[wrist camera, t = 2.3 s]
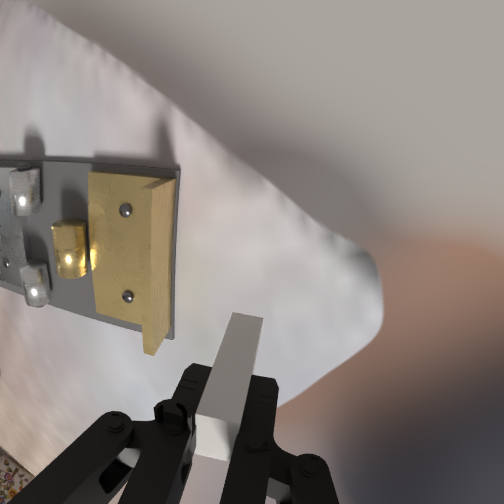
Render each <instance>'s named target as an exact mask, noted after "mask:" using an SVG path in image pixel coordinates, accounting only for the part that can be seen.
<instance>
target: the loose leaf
mask: <svg viewBox="0 0 504 504" xmlns="http://www.w3.org/2000/svg"><path fill="white" fill-rule="evenodd" d="M176 179H177V178H170V177H161V176H152V175H142V174H131V173H120V172H108V171H95V170H94V171H90V172H88V215H89V238H90V254H91V267H92V278H93V287H94V296H95V304H96V312H97V313H99V314H103V315H106V316H110V317H113V318H117V319H121V320H124V321H128V322H132V323H136V324H140V325H142V335H143V348H144V353H145V354H149V355H153V356H154V355H155V353H156V351H157V350H158V348H159V346H160V345H161V343H162V341H163V340H164V338H165V336H166V334H167V333H168V331H169V329H170V328H171V296H172V252H173V228H174V209H175V193H176ZM52 236H53V246H54V255H55V264H56V271H57V275H58V276H59V277H61V278H64V279H75V278H79V277H82V276H84V275H85V274H87V273H88V258H87V245H86V227H85V221H84V220H81V219H75V218H70V219H63V220H59V221H56V222H54V223H53V224H52Z"/></svg>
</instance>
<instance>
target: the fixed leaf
mask: <svg viewBox="0 0 504 504" xmlns="http://www.w3.org/2000/svg"><path fill="white" fill-rule="evenodd" d="M40 210H41V201H40V168H38V167H32V163H21V164H17V166H0V280H1V281H4V282H6V283H9V284H12V285H14V286H17V287H20V288H23V292H24V297H25V301H26V304H27V305H29V306H32V307H43V306H44V305H46V304H47V303H49V302H50V301H51V299H52V295H51V290H50V284H49V278H48V271H47V264H46V261H45V260H42V259H32V258H31V251H30V243H29V235H28V225H27V215H32V214H35V213H37V212H39V211H40Z"/></svg>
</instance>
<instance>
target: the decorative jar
mask: <svg viewBox="0 0 504 504" xmlns="http://www.w3.org/2000/svg"><path fill="white" fill-rule="evenodd" d="M34 478H35V477H34V476H33V475H32V474H30V473H29V472H27V471H26V470H25V469H23V468H22V467H20V466H19V465H18V464H16V463H15V462H14V461H12V460H11V459H10V458H8V457H7V456H6V455H4V454H3V456H2V457H1V458H0V504H6V503H7V502H8V501H10V500H11V499H12V498H13V497H14V496H15V495H16V494H17V493H18V492H20V491H21V490H22V489H23V488H24V487H25V486H26V485H27V484H28V483H29V482H30V481H32V480H33V479H34Z"/></svg>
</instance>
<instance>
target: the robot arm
mask: <svg viewBox="0 0 504 504" xmlns="http://www.w3.org/2000/svg"><path fill="white" fill-rule="evenodd" d="M262 322H263V318H261V317H255V316H250V315H245V314H239V313H234V312H233V313H232V316H231V319H230V321H229V324H228V327H227V329H226V332H225V335H224V338H223V340H222V343H221V346H220V349H219V351H218V354H217V357H216V359H215V362H214V365H213V367H208V366H204V365H200V364H195V363H193V364H191V365H190V366H189V367H188V368H186V369H185V371H184V373H183V375H182V377H181V380H180V381H179V383H178V386H177V388H176V390H175V392H174V394H173V396H172V399H168V400H163V401H161V402H159V403H157V405H156V406H155V407H154V414H155V420H152V421H131V418H130V417H129V416H127V415H126V414H125V413H122V412H119V411H111V412H107V413H105V414H103V415H102V416H101V417H100V418H98V419H97V420H96V421H95V422H94V423H93V424H92V425H91V426H90V427H89V428H88V429H87V430H86V431H85V432H84V433H82V434H81V435H80V436H79V437H78V438H77V439H76V440H75V441H74V442H73V443H72V444H71V445H70V446H68V447H67V448H66V449H65V450H64V451H63V452H62V453H61V454H60V455H59V456H58V457H57V458H56V459H54V460H53V461H52V462H51V463H50V464H49V465H48V466H47V467H46V468H45V469H44V470H43V471H41V472H40V473H39V474H38V475H37V476H36V477H35V478H34V479H33V480H32V481H30V482H29V483H28V484H27V485H26V486H25V487H24V488H23V489H22V490H21V491H20V492H18V493H17V494H16V495H15V496H14V497H13V498H12V499H11V500H10V501H8V502H7V503H6V504H108V503H109V502H110V501H111V500H112V498H113V497H114V496H115V495H116V494H117V493H118V492H119V491H120V489H121V488H122V487H123V486H124V485H125V483H126V482H127V481H128V482H127V484H126V487H125V489H124V491H123V493H122V495H121V497H120V500H119V502H118V504H179V503H180V500H181V497H182V494H183V491H184V488H185V485H186V481H187V479H188V476H189V473H190V470H191V466H192V457H193V454H194V451H195V454H198V455H203V456H207V457H211V458H216V459H221V460H225V461H230V464H229V468H228V472H227V476H226V480H225V484H224V488H223V492H222V496H221V500H220V504H265V500H266V496H269V497H271V498H273V499H276V502H277V504H339V501H338V498H337V495H336V491H335V488H334V484H333V481H332V478H331V474H330V471H329V468H328V465H327V464H326V462H325V460H323V459H322V458H320V456H317V455H314V454H302V455H299V456H295V455H292V454H290V453H288V452H286V451H284V450H282V449H281V448H280V447H279V446H278V445H277V444H276V443H275V440H274V438H273V432H274V424H275V415H276V408H277V400H278V391H279V387H278V385H277V382H276V380H275V379H274V378H268V377H262V376H256V375H253V370H254V365H255V361H256V355H257V350H258V344H259V339H260V333H261V328H262Z"/></svg>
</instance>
